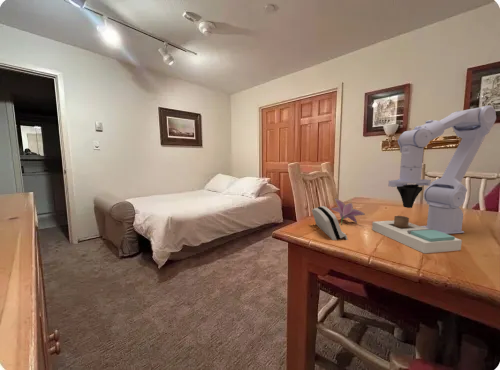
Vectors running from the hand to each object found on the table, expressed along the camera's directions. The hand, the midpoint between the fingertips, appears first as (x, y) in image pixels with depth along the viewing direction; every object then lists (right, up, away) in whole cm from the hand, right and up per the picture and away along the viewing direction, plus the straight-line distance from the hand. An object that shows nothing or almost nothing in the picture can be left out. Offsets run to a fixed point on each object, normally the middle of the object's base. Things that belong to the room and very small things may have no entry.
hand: (407, 207), depth 73 cm
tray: (-1, -10, -3) cm, 10 cm away
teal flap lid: (-1, -7, -7) cm, 9 cm away
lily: (-15, -8, +14) cm, 22 cm away
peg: (-2, -9, +1) cm, 10 cm away
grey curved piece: (-26, -10, +4) cm, 28 cm away
